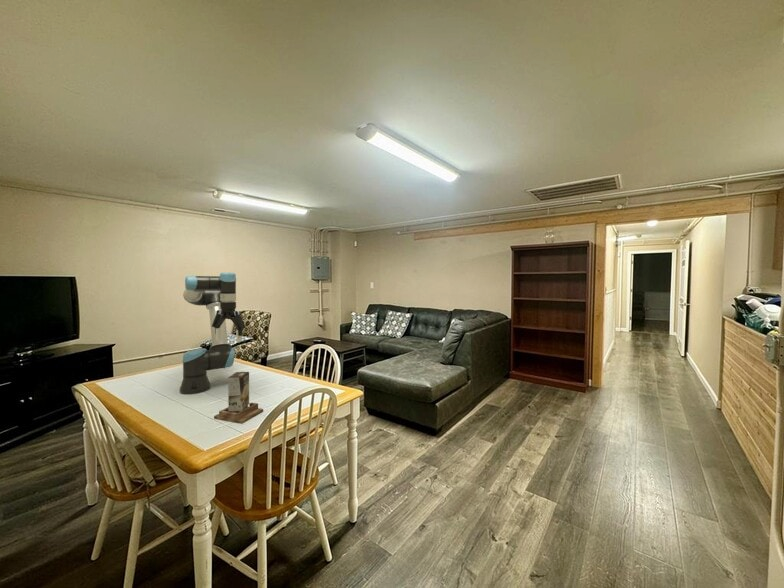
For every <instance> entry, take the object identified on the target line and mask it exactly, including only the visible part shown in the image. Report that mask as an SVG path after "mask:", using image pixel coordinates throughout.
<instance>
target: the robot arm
mask: <svg viewBox="0 0 784 588" xmlns="http://www.w3.org/2000/svg"><path fill="white" fill-rule="evenodd" d="M236 275H237V274H236V273H235V272H220V274H219V276H215V275H214V276H212V275H211V276H210V275H204V276H203V275H187V276H185V279H184V287H185V290H184V291H183V294H182V296H183V298H184V300H185V301H186V302H187V303H189V304H191V305H194V306H205V308H206V309H207V310H208V311H209V324H210V333H211V336H210V337H211V346H210V347H209V350H207V348H203V347H201V348H196V349H195V348H194V349H190V350H188V351H186V352H185V353H183V355H182V369H183V370H182V377H183V378H182V381H181V384H180V386H179V393H180V394H182V395H192V394H193V395H195V394H200V393H203V392H206V391H208V390H209V389H211V383H210V380H209V378H208V374H207V372H208V371H212V370H219V369H220V370H221V369H227V368H231V367H232V366H233V365H234V362H235V356H236V355H235V354H236V353H235V348H234V347H232V344H230V343H229V340H228V333H227V332H228V330H227V323H226V320H230V321H232V323H233V325H234V326H235V328H236V332H235V333H236V334H235V338H236V340H235V341H236V343H241V342H242V337H243V330H244V329H246V325H245V322H244V319H243V317H242V315H241V311H240V310H236V309H237V302H236V301H237V277H236Z"/></svg>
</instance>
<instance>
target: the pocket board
mask: <svg viewBox="0 0 784 588" xmlns="http://www.w3.org/2000/svg"><path fill="white" fill-rule="evenodd" d="M218 412H219V413H217V414H215V415H214V416H213V419H215V420H218V421H219V420H220V421H225V422H230V423H235V424H240V425H242V424H244V423H246V422H247V421H249V420H252V419H253V418H254V417H256V416H258V415H260V414H261V413H263V412H264V409H263V408H259V403H256V402H249V404H248V405H247V406H246V407H245V408H244V409H243V410H242V411H228V407H226V408H224V409H221V410H219V411H218Z"/></svg>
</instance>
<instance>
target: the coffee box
mask: <svg viewBox="0 0 784 588" xmlns="http://www.w3.org/2000/svg"><path fill="white" fill-rule="evenodd" d="M227 380H228V381H227V382H228V383H227V384H228V385H227V386H228V387H227V388H228V389H227V390H228V392H227V394H228V397H227V399H228V400H227V401H228V402H227V404H228V405H227V406H228V411H242V410H243V409H244V408H245V407H246V406H247V405H248V406H249V403H250V371H236V372H234V373H232V374H231V375H229V376H228V377H227Z"/></svg>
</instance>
